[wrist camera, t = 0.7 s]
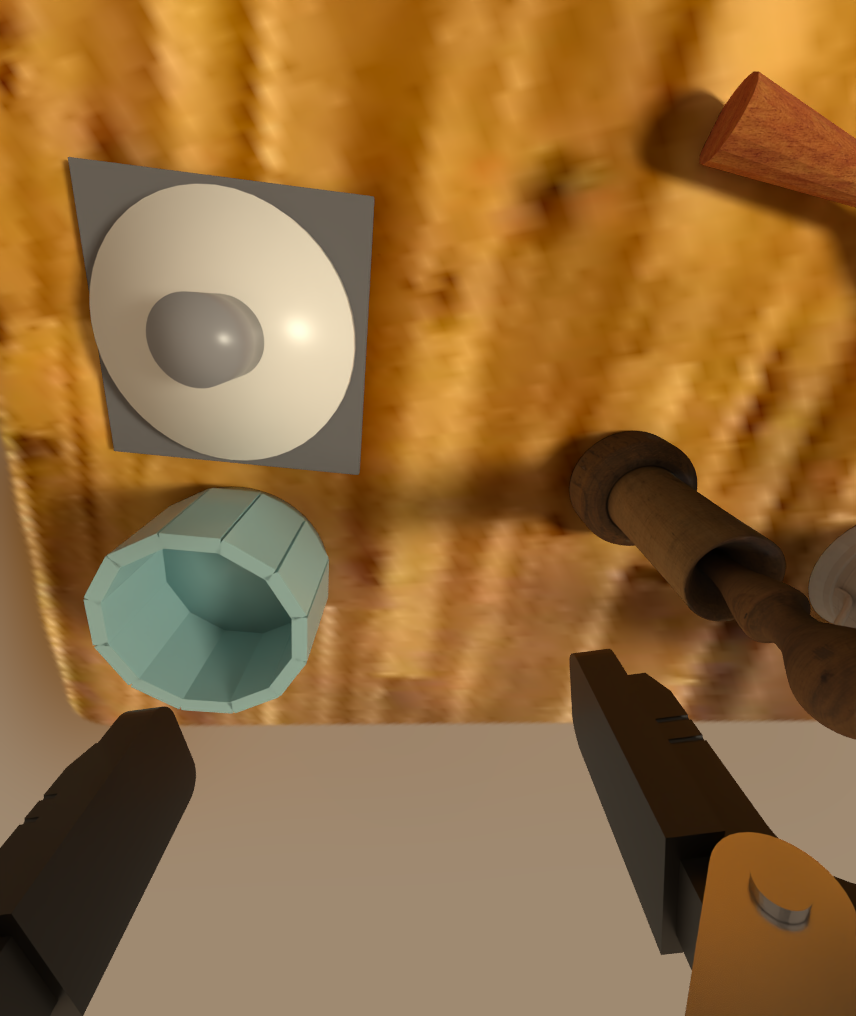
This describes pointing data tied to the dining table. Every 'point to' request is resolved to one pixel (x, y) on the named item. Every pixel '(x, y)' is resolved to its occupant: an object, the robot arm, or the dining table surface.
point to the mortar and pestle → (715, 564)
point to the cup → (212, 601)
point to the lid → (222, 321)
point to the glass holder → (836, 582)
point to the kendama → (782, 143)
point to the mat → (321, 213)
